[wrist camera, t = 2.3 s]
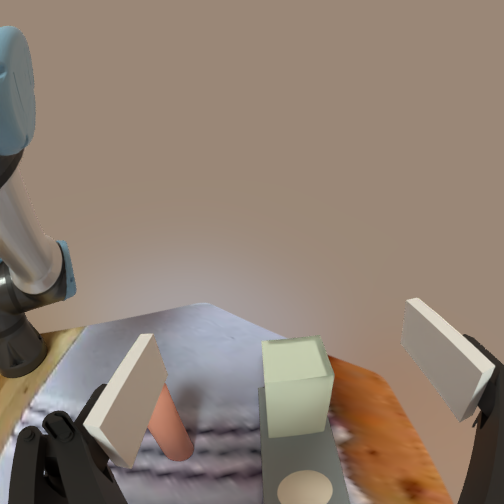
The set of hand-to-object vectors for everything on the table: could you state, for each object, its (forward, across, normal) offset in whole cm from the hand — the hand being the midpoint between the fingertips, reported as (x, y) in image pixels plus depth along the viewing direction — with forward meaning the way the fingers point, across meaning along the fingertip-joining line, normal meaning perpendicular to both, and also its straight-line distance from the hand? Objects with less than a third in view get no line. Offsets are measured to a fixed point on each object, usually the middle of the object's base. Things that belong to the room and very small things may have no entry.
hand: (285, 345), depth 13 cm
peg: (+9, -14, -22) cm, 27 cm away
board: (+8, +1, -23) cm, 24 cm away
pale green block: (+14, +1, -22) cm, 26 cm away
